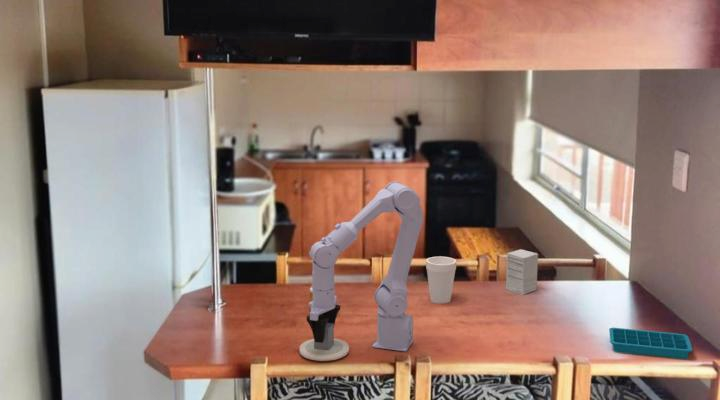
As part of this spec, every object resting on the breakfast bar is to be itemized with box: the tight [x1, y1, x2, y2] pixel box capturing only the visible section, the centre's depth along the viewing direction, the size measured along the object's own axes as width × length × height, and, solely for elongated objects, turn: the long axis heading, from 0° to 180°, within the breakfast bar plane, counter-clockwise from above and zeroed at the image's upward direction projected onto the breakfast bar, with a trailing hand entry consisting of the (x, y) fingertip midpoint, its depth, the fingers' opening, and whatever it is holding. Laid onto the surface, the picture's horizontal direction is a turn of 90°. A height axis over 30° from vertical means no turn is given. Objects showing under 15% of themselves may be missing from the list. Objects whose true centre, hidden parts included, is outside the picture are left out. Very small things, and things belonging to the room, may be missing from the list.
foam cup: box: [425, 255, 457, 305], centre depth 242 cm, size 10×9×13 cm
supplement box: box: [505, 248, 539, 296], centre depth 252 cm, size 7×7×13 cm
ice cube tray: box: [608, 327, 693, 360], centre depth 206 cm, size 12×20×3 cm, turn 74°
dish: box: [299, 337, 350, 362], centre depth 203 cm, size 13×13×2 cm
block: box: [314, 323, 335, 350], centre depth 203 cm, size 4×4×6 cm
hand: (324, 337), depth 203 cm, fingers open, 6 cm apart
